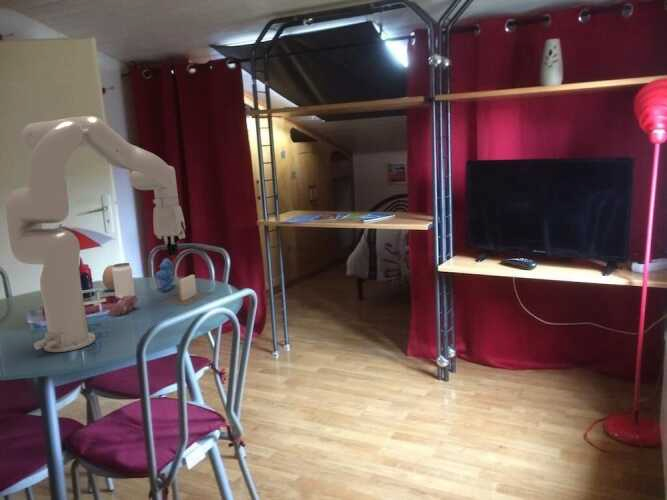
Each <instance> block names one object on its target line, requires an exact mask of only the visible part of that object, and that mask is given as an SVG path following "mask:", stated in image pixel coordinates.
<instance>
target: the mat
mask: <svg viewBox="0 0 667 500" xmlns="http://www.w3.org/2000/svg"><path fill="white" fill-rule="evenodd" d="M196 293H197V294H196V295H194V296H192V297H190V298H188V299H186V300H184V301H180V295H179V293H178V294H177V295H174V296H172V297H170V298H168V299H166V300H164V301H162V302H159V303H158V304H159V305H171V306H172V305H173V306H174V305H175V306H176V305H178V306H191V305H193V304H195V303H196V302H199V301H200V300H203V299H204V298H206V297H208V296H211V295H212V294H214V293H215V291H199V290H196Z"/></svg>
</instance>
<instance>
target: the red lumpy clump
mask: <svg viewBox="0 0 667 500" xmlns="http://www.w3.org/2000/svg"><path fill="white" fill-rule="evenodd" d="M138 299H139V298H138V297H137V296H136V295H134V296H131V295H130V296H124V297H123V298H122V299H118V301H117V302H116V303H115V305H114V306H113V307H112V308H110V310H108V313H107V316H108V317H117V316H118V315H124V314H125V313H127V312H129V311H130V312H131V311H132V310H133V308H134V307H135V306H136V304H137V302H138V301H139V300H138Z"/></svg>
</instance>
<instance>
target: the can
mask: <svg viewBox="0 0 667 500" xmlns="http://www.w3.org/2000/svg"><path fill="white" fill-rule="evenodd" d="M112 273H113V281H114V288H115V290H114V295H115V297H116V296H117V297H119V298H121V299H122V298H123V297H124V296H130V295H131V296H136V292H135V286H134V284H135V283H134V277H133V269H132V267H131V265H130V263H129V262H121V263H115V264H113V269H112ZM121 299H120V300H121Z"/></svg>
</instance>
